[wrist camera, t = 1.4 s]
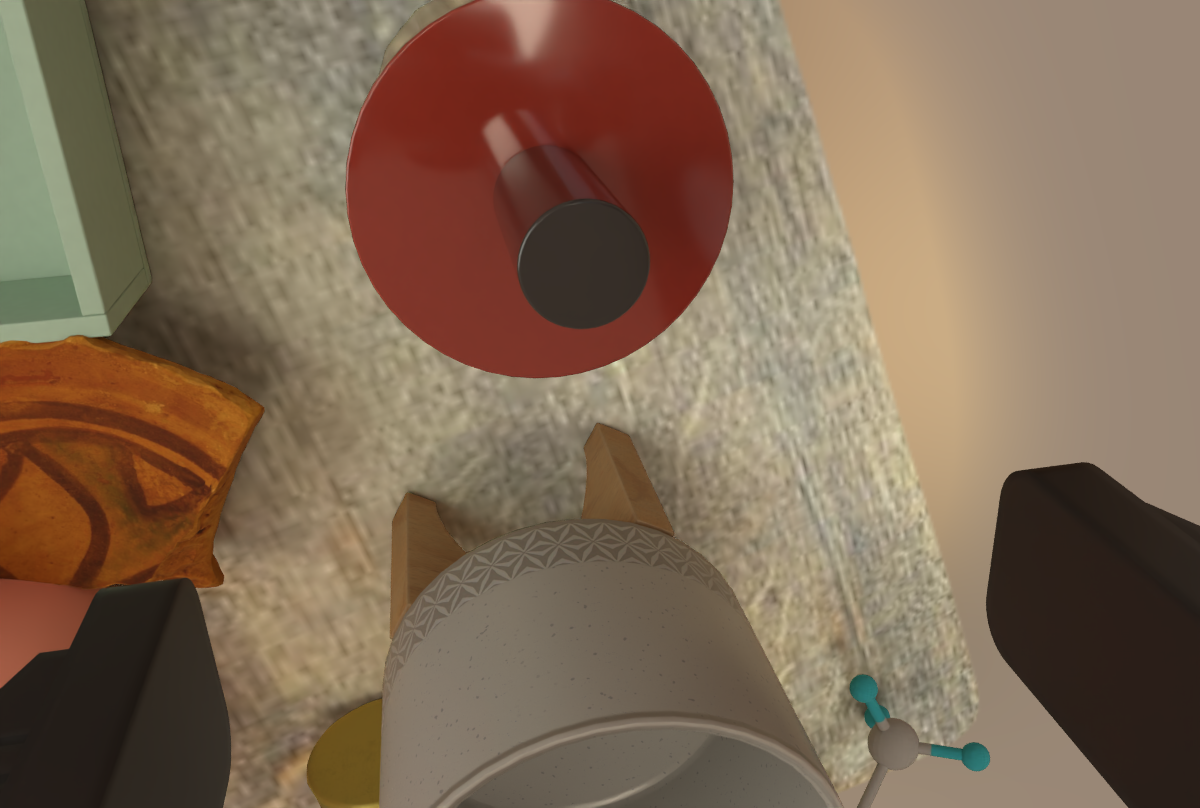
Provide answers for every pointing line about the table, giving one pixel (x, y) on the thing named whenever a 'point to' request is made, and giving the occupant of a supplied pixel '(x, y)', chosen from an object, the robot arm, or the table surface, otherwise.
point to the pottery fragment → (113, 464)
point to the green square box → (61, 182)
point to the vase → (348, 760)
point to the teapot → (37, 620)
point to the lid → (539, 184)
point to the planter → (581, 666)
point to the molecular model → (901, 741)
